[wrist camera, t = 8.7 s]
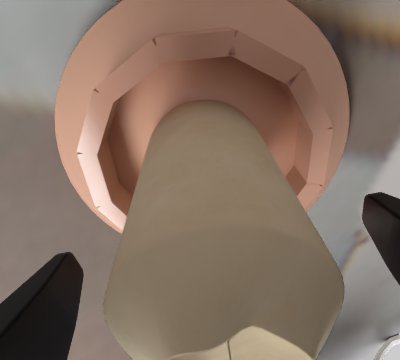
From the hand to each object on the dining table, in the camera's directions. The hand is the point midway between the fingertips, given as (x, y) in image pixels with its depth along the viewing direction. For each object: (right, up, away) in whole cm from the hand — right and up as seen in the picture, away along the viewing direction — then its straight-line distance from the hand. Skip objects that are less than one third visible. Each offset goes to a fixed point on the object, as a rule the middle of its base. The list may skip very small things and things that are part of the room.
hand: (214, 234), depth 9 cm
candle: (0, +3, +5) cm, 6 cm away
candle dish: (0, +3, +6) cm, 7 cm away
